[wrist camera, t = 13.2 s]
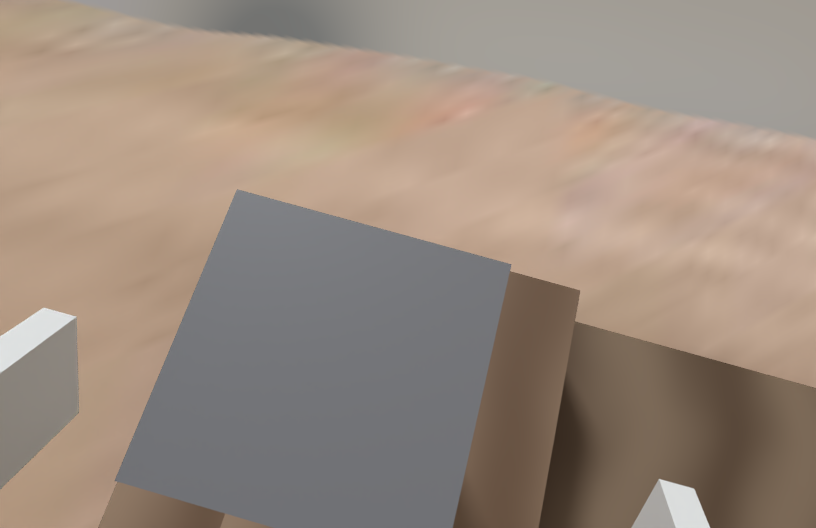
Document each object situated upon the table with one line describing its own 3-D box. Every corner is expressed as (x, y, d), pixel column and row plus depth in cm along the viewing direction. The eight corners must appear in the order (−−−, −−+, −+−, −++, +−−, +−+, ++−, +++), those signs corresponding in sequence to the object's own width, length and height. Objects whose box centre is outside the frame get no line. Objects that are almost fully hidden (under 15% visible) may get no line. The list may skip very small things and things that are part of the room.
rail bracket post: (284, 473, 23) (114, 480, 8) (320, 361, 24) (237, 188, 9) (396, 506, 23) (441, 577, 8) (425, 391, 24) (511, 264, 9)
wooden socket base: (108, 555, 22) (19, 583, 17) (238, 235, 27) (203, 174, 22) (848, 777, 21) (1017, 887, 16) (849, 404, 26) (980, 387, 21)
